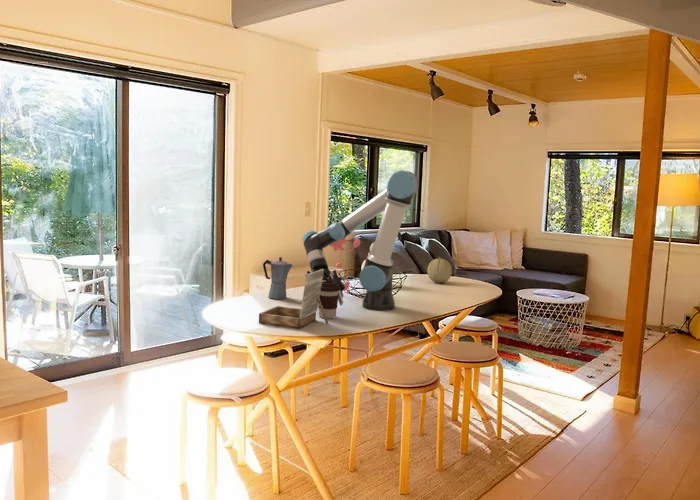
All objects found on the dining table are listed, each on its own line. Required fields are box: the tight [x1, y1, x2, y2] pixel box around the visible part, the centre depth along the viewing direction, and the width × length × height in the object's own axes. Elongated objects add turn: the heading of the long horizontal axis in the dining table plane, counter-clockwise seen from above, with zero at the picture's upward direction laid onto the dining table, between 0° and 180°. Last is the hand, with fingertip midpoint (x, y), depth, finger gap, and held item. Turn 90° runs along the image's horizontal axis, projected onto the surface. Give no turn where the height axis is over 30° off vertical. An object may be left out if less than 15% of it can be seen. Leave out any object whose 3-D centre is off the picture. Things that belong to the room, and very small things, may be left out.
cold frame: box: [258, 269, 329, 330], centre depth 236 cm, size 24×16×22 cm, turn 71°
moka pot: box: [262, 257, 294, 300], centre depth 283 cm, size 10×15×20 cm, turn 78°
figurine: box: [329, 238, 361, 295], centre depth 301 cm, size 15×26×35 cm, turn 134°
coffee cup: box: [318, 280, 340, 320], centre depth 249 cm, size 10×10×15 cm
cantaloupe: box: [426, 256, 453, 284], centre depth 345 cm, size 15×15×15 cm
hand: (330, 304), depth 246 cm, fingers closed on coffee cup, 10 cm apart
